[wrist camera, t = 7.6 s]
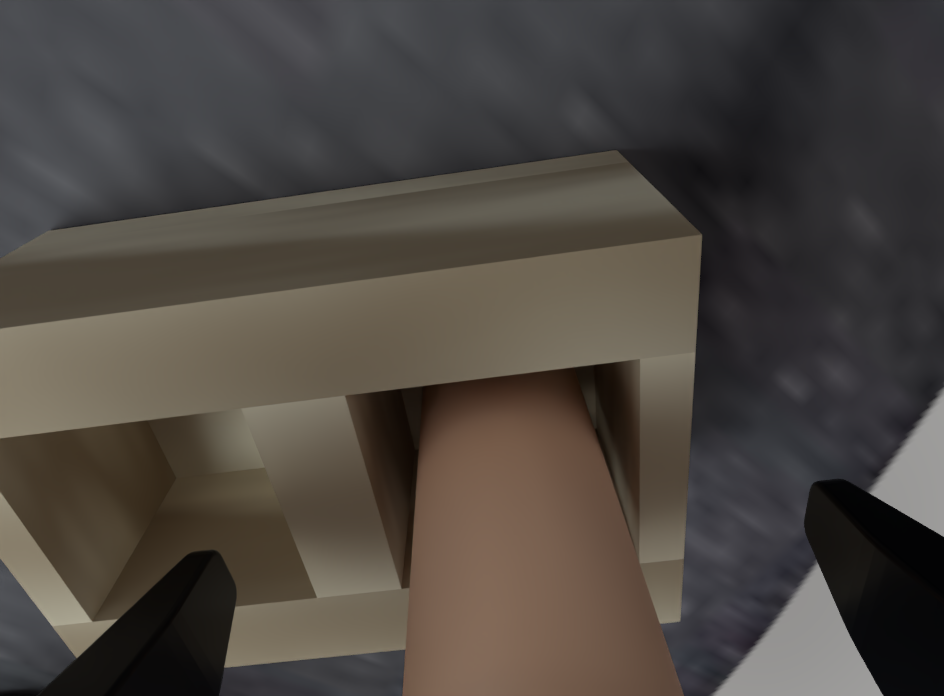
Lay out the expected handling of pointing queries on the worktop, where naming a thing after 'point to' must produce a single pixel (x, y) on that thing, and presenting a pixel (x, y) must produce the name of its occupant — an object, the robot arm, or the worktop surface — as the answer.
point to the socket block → (326, 387)
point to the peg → (524, 551)
